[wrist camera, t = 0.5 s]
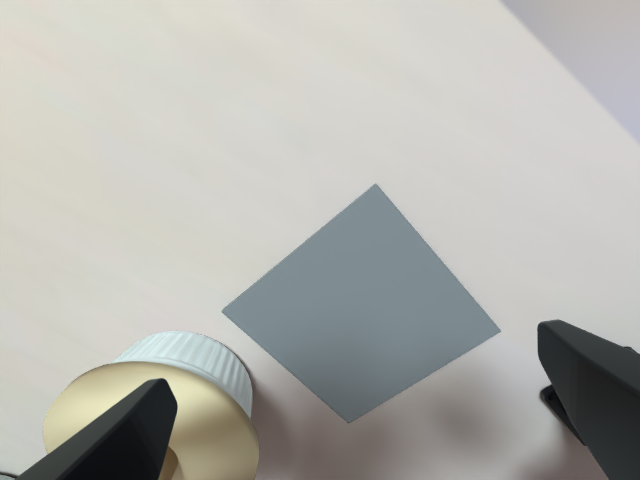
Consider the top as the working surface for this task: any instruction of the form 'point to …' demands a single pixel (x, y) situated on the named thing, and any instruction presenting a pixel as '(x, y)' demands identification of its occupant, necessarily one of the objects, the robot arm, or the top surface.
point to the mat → (362, 309)
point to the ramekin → (196, 361)
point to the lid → (189, 427)
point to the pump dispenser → (6, 477)
